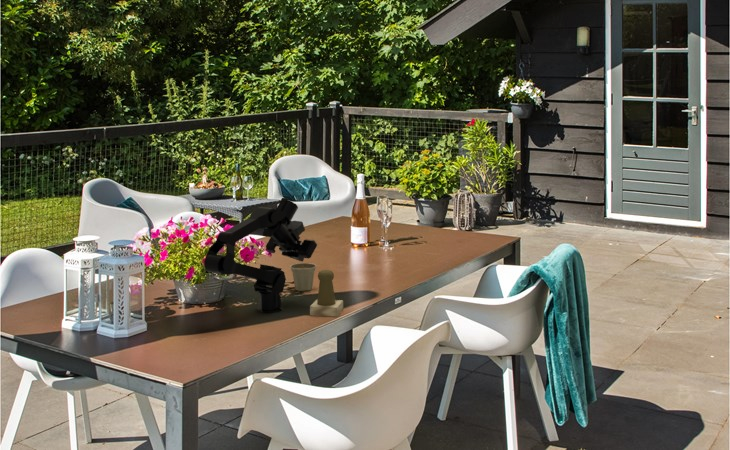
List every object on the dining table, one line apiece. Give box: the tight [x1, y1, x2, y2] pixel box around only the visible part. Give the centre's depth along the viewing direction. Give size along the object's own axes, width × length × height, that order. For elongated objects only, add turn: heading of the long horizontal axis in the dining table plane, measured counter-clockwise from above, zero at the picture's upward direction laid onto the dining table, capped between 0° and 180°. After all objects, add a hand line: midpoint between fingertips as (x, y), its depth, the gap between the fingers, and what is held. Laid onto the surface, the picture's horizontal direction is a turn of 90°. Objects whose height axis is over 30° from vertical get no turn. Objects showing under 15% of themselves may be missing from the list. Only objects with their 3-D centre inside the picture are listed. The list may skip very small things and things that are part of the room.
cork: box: [317, 269, 336, 306], centre depth 310 cm, size 6×6×11 cm
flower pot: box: [289, 262, 317, 292], centre depth 341 cm, size 9×9×9 cm
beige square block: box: [309, 298, 344, 318], centre depth 312 cm, size 9×9×3 cm
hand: (302, 260), depth 327 cm, fingers closed
